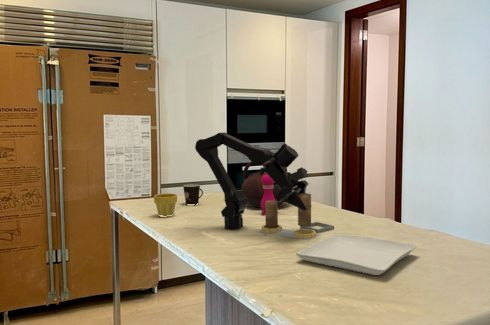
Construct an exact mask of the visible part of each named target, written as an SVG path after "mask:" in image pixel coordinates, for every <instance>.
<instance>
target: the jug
mask: <svg viewBox="0 0 490 325" xmlns="http://www.w3.org/2000/svg"><path fill="white" fill-rule="evenodd" d="M274 160H275V159H273V160H271V161H270V162H269V163H272V162H273V161H274ZM253 164H254V163H253V162H252V161H251V160H250V161H249V162H248V163H247V164H246V165H245V166H244V168H243V171H242V176H243V183H242V186H241V190H243V191H244V194H245V196H246V197H247V202H248V204H249V205H251V206H253V207H256V208H262V207H261V200H262V198H263V195H264V188H263V185H264V184H263V183H262V177H263V176H264V175H260V172H261V170H260V171H258V172H254V173H252V174H251V175H249V174H248V173H249V172H248V171H249V168H250V167H251V166H252V165H253ZM267 164H268V163H267ZM267 164H263V165H262V168H263V167H265V166H266V165H267ZM282 168H283V169H284V170H285V171H286V172H288V167H282ZM274 183H275V182H274ZM274 183H273V185H274ZM280 190H281V189H280V188H279V187H278V186H275V185H274V188H273V195H274V198H275V195H276V194H277V193H278V192H279V191H280ZM275 200H276V199H275ZM285 200H286V198H285V197H284V198H283V201H282V202H278V201H277V200H276V201H277V202H278V206H280V205H282V204H283V203H285V202H284V201H285Z"/></svg>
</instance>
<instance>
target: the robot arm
mask: <svg viewBox="0 0 490 325" xmlns="http://www.w3.org/2000/svg"><path fill="white" fill-rule="evenodd" d="M222 145H224V146H226V147H228V148H230V149H232V150H233V151H236V152H238V153H240V154H242V155H244V156H245V157H247V159H248V160H250V162H251V161H252V162H253V164H255V165H257V166H262V167H260V171H261V172H260V171H259V172H260V175H265V174H266V173H267V174H268V176H269V177H270V178H271V179H272V180H273V181H274V182H275V183H274V185H275V186H278V187H279V188H280V189H281V190H280V191H279V192H278V193H277V194H276V195H275V199H276V200H277V201H278V202H282V201H283V198H284V197H285V198H286V200H285V201H284V202H283V203H286V204H289V205H292V206H293V207H296V208H297V209H298V208H300V209H302V210H304V211H305V210H306V209H307V208H306V207H305V205H304V204H303V202H302V201H301V199H300V198H299V196H298V194H300V193H306V192H307V191H306V190H307V187H308V185H309V183H308V181H307V180H304V179H306V178H309V175H308V173H309V172H308V170H307V169H306V168H303V167H300V168H297V169H296V171H295V172H290V171H289V172H288V171H287V172H286V171H285V170H284V169H283V168H282V167H287V168H289V167H290V166H291V164H292V163H294V161H295V160H296V159H297V158H298V157H299V153H298V151H297V150H296V149H294V148H292V147H291V146H290V145H288V144H287V143H283V144H282V145H281V146H280V147H279V149H278V150H277V151H276V152H274V151H273V152H272V151H271V150H270V149H269V148H265V147H263V146H256V145H251V144H250V143H248V142H245V141H243V140H241V139H238V138H237V137H235V136H232V135H230V134H228V133H227V132H225V131H224V132H217V133H215V134H214V135H211V136H209V137H207V138H200V139H197V140H196V142H195V146H194V149H195V151H196V152H197V154H198V155H199V156H200V158H202V159H203V160H204V161H206V162H207V164H208V166H209V168H210V169H211V172H212V173H213V175H214V177H215V179H216V181H217V183H218V184H219V187H220V188H221V190H222V192H223V194H224V195H223V196H224V203H225V207H223V209H222V210H221V211H220V214H221V216H222V217H223V218H224V220H223V221H224V222H223V223H224V229H225V230H228V231H231V230H233V231H235V230H240V229H241V228H243V227H244V218H243V214H244V213H245V210H246V209H247V207H248V204H249V203H248V202H247V197H246V196H245V194H244V191H243V190H242V189H240V190H239V189H237V188H236V187H235V184H234V183H233V180H232V179H231V178H230V176H229V174H228V171H227V169H225V166H224V164H223V162H222V161H221V159H220V158H219V149H218V147H221V146H222ZM273 159H275V160H274V161H273V162H272V163H269V162H270V161H271V160H273ZM267 163H268V164H267ZM263 164H267V165H266V166H265V167H263ZM302 179H303V180H302Z"/></svg>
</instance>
